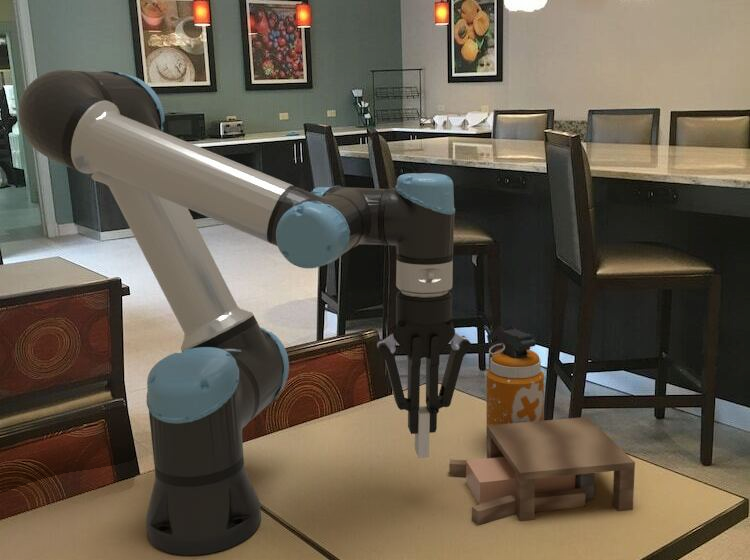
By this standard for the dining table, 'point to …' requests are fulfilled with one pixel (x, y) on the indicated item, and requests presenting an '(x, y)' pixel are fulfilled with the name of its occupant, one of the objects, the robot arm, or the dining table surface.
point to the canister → (513, 379)
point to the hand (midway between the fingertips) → (421, 453)
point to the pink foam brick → (505, 480)
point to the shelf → (552, 466)
